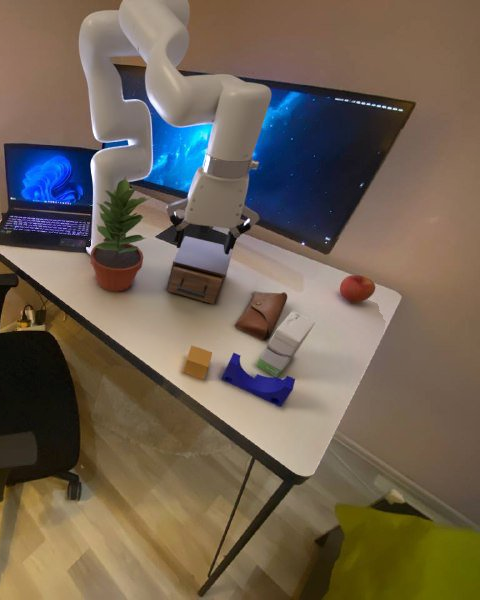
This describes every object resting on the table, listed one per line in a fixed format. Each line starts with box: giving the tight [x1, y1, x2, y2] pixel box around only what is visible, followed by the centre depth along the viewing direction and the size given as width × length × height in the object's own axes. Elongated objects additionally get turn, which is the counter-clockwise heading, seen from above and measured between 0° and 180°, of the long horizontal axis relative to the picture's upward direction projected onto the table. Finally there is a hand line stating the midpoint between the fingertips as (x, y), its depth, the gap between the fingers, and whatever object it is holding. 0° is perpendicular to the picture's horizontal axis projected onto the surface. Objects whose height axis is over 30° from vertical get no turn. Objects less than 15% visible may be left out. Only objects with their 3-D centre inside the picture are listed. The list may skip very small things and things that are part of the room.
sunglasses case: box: [234, 291, 288, 342], centre depth 89 cm, size 18×7×7 cm
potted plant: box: [90, 176, 151, 292], centre depth 91 cm, size 15×15×30 cm
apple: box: [339, 274, 376, 304], centre depth 93 cm, size 7×7×8 cm
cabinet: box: [166, 235, 234, 304], centre depth 98 cm, size 15×14×10 cm
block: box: [182, 345, 213, 381], centre depth 76 cm, size 4×4×4 cm
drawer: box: [167, 265, 222, 305], centre depth 94 cm, size 18×12×8 cm
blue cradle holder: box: [221, 352, 296, 408], centre depth 72 cm, size 12×4×6 cm, turn 56°
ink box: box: [256, 311, 316, 378], centre depth 75 cm, size 9×5×12 cm, turn 134°
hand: (201, 247), depth 72 cm, fingers open, 9 cm apart
